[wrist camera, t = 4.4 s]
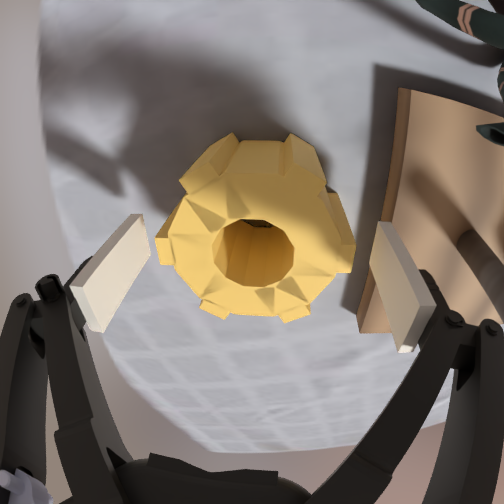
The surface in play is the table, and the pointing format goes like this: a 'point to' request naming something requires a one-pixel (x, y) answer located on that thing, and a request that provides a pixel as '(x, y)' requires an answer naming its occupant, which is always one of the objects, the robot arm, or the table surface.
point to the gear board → (445, 207)
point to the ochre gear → (257, 229)
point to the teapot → (483, 28)
